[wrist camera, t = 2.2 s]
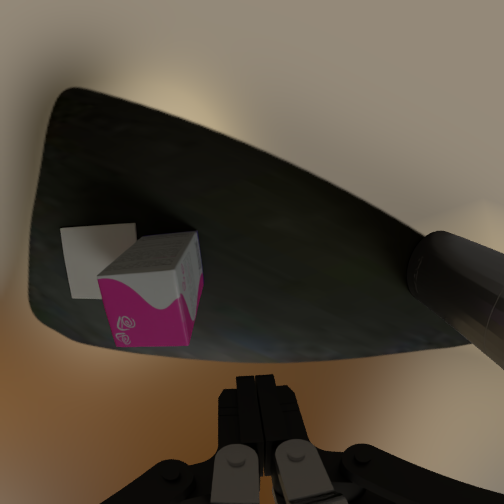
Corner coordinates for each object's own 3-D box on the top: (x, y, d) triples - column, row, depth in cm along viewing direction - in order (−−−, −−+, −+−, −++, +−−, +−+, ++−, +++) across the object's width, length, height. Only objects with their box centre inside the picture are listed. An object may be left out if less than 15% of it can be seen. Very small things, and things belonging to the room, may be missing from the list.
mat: (135, 222, 28) (134, 223, 28) (144, 298, 30) (143, 299, 30) (61, 228, 27) (60, 228, 27) (73, 297, 30) (72, 298, 29)
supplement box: (140, 235, 28) (93, 273, 17) (198, 229, 29) (180, 265, 18) (149, 289, 30) (114, 349, 19) (205, 285, 30) (194, 347, 19)
